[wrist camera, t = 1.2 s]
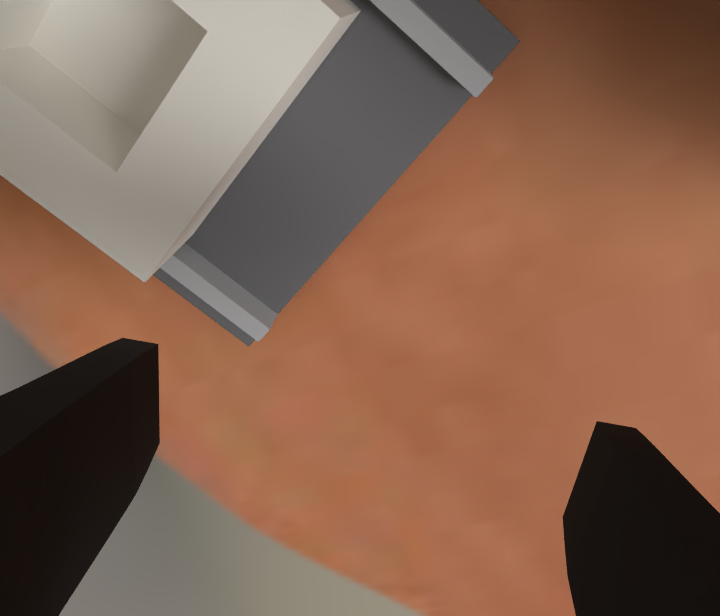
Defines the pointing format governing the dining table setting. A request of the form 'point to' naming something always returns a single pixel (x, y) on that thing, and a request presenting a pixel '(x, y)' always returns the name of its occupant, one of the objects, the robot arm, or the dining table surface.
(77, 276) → the dining table surface
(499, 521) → the dining table surface
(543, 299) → the dining table surface
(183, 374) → the dining table surface
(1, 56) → the sliding block
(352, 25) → the base
